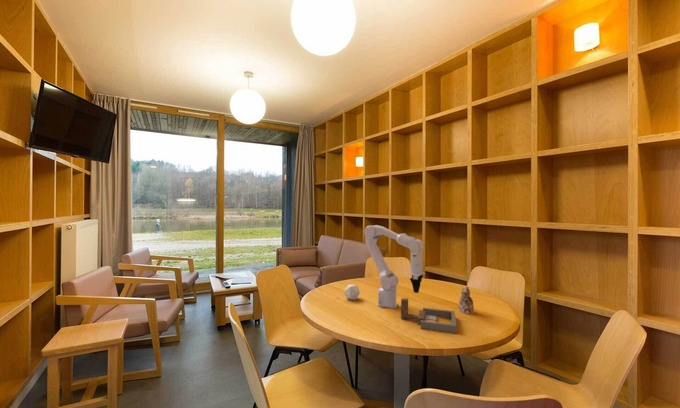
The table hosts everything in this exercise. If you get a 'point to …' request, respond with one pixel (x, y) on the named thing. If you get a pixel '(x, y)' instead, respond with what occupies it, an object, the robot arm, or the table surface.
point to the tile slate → (430, 317)
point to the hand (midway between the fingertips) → (416, 290)
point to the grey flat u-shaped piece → (440, 326)
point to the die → (352, 292)
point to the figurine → (466, 302)
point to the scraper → (410, 316)
